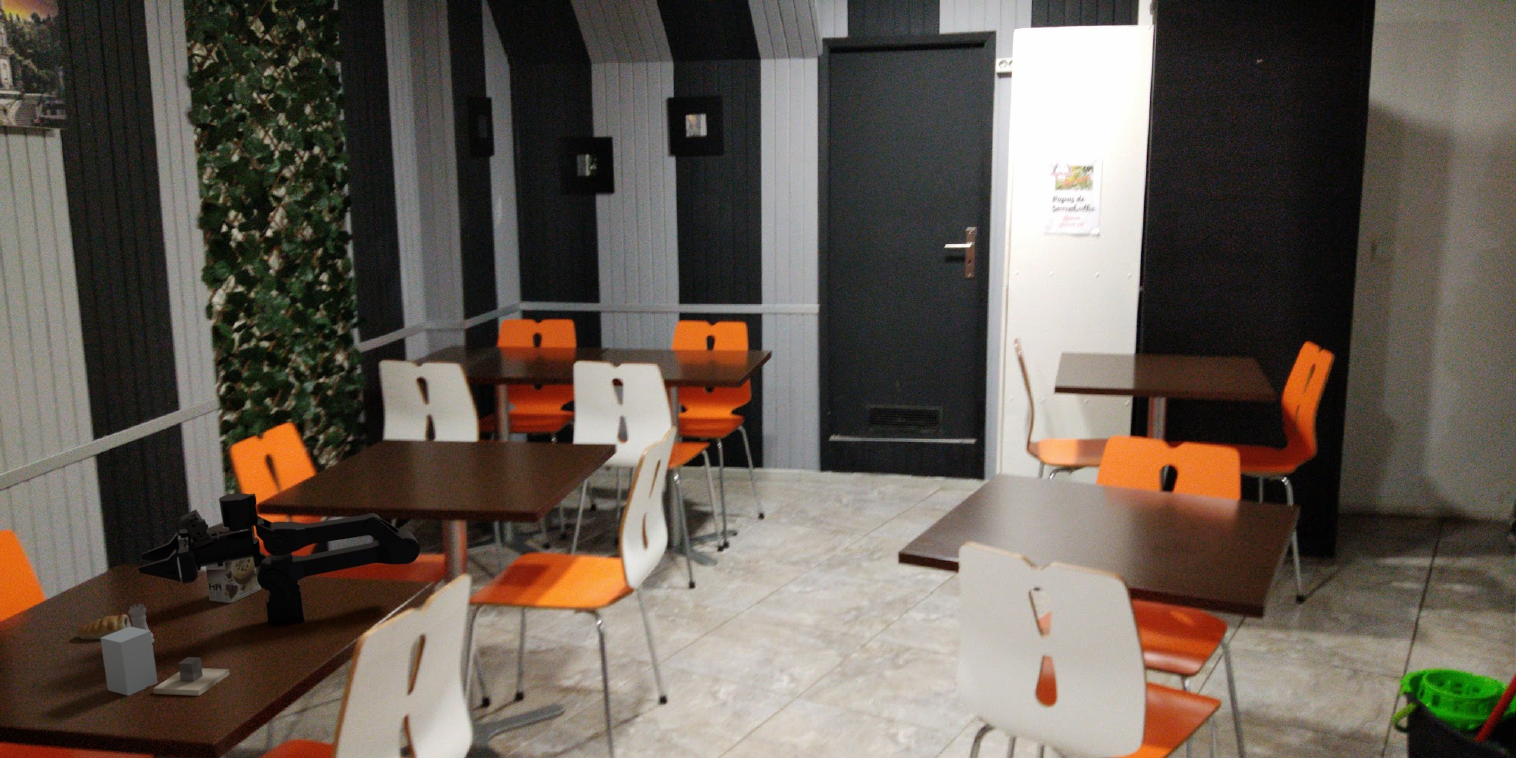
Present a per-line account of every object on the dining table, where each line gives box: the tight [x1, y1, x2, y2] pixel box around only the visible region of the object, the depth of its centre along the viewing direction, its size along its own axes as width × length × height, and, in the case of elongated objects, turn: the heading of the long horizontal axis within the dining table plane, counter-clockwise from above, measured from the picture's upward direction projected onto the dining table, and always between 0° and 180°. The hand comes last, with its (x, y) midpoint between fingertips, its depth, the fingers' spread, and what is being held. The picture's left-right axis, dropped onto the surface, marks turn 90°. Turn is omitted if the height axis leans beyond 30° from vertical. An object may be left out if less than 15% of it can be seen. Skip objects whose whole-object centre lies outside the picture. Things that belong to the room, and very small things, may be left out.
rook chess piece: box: [128, 603, 155, 644], centre depth 239 cm, size 4×4×8 cm
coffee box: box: [205, 522, 262, 604], centre depth 265 cm, size 9×6×16 cm
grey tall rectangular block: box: [100, 625, 159, 696], centre depth 219 cm, size 6×6×10 cm
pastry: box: [76, 613, 132, 640], centre depth 246 cm, size 9×7×4 cm
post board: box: [152, 656, 230, 697], centre depth 220 cm, size 9×9×4 cm
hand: (140, 563), depth 237 cm, fingers open, 9 cm apart
